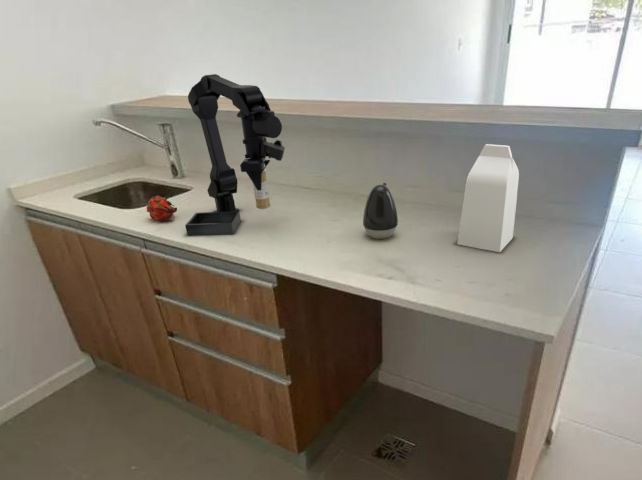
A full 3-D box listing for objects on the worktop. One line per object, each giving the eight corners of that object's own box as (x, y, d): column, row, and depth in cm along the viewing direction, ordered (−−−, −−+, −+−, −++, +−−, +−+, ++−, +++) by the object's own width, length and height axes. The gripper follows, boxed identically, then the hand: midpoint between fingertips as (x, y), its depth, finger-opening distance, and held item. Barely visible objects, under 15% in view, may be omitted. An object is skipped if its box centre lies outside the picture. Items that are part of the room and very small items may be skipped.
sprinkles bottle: (263, 203, 149) (257, 161, 142) (273, 205, 147) (268, 163, 139) (253, 208, 146) (246, 165, 139) (263, 210, 144) (257, 167, 136)
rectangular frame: (198, 222, 156) (195, 212, 154) (240, 221, 155) (239, 211, 154) (187, 235, 146) (185, 225, 144) (233, 234, 146) (231, 223, 144)
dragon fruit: (156, 219, 166) (176, 230, 160) (135, 211, 159) (155, 223, 153) (165, 197, 165) (186, 207, 159) (145, 188, 158) (166, 199, 152)
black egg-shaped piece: (401, 230, 141) (402, 180, 134) (393, 243, 133) (393, 191, 125) (368, 228, 145) (368, 178, 137) (359, 240, 136) (357, 189, 128)
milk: (457, 244, 131) (465, 148, 117) (472, 230, 139) (481, 139, 125) (499, 252, 125) (514, 152, 111) (512, 237, 133) (527, 142, 119)
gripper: (276, 139, 127) (282, 196, 135) (285, 127, 143) (290, 178, 151) (235, 141, 127) (244, 197, 135) (249, 129, 143) (256, 179, 151)
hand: (260, 187), depth 143 cm, fingers closed on sprinkles bottle, 4 cm apart
